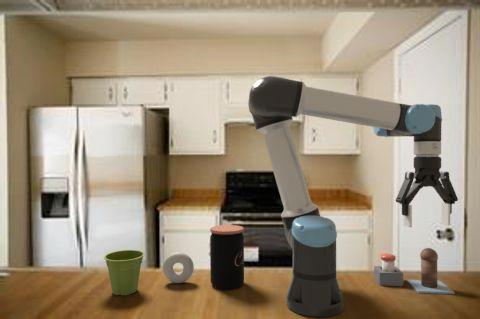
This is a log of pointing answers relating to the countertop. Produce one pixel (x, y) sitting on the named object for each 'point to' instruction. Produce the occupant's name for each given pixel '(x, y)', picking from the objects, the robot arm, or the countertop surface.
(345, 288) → the countertop surface
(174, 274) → the donut
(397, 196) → the robot arm
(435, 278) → the brown domed cylinder
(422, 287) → the tile
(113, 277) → the plant pot
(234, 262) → the coffee jar
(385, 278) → the button collar
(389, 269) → the button plunger
